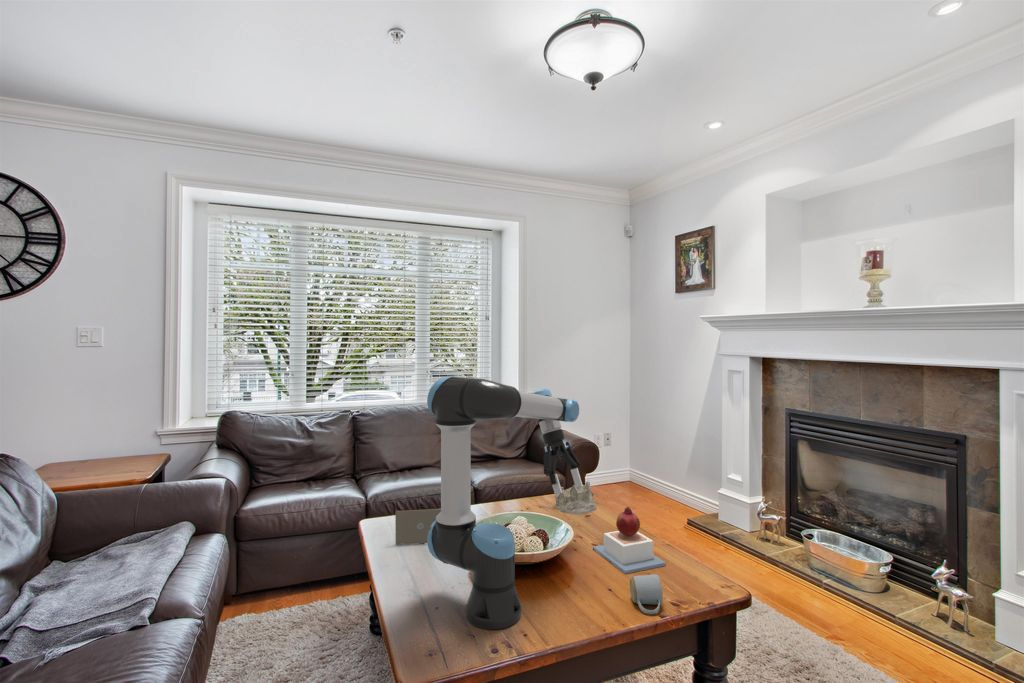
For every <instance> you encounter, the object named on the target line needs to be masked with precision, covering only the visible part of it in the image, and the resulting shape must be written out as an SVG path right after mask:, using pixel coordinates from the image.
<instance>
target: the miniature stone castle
mask: <svg viewBox="0 0 1024 683" xmlns="http://www.w3.org/2000/svg"><path fill="white" fill-rule="evenodd" d="M590 482H591V481H588V480H586V481H585V484H583V486H580V487H575V484H573V485H572V487H569V488H566V489H564V487H563V486H561V490H562V493H559V494H555V493H554V498H555V504H554V508H556V509H557V510H558V511H560V512H562V513H565V514H570V515H585V514H588V513H591V512H594V511H596V510H597V505H596V502H595V501H594V500H595V498H594V495H595V494H594V493H593V490H592V488H591V483H590Z"/></svg>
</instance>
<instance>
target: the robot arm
mask: <svg viewBox="0 0 1024 683" xmlns="http://www.w3.org/2000/svg"><path fill="white" fill-rule="evenodd" d="M426 400H427V401H426V404H427V405H426V406H427V408H428V410H429V412H430V414H432V415H433V416H435V426H437V428H438V429H440V509H441V512H440V513H439V514H438V515H437V516H436V520H435V521H434V522H433V523H432V525H431V527H430V528H431V530H429V532H428V537H427V544H426V545H427V548H428V551H429V553H430V555H431V556H432V557H433V558H434V559H436V560H438V561H440V562H442V563H443V564H447V565H452V566H453V567H455V568H456V567H457V568H460V569H462V570H466V571H468V572H471V574H472V577H471V578H472V586H471V589H470V594H469V596H468V600H467V602H466V605H465V606H466V607H465V608H466V609H465V617H466V619H467V621H468V622H469V623H470V624H471V625H472V626H474V627H477V628H479V629H483V630H502V629H506V628H509V627H511V626H513V625H515V624H516V623H517V622H518V621H519V620H520V619H521V616H522V604H521V601H520V598H519V594H518V591H517V588H516V585H515V584H516V583H515V582H516V581H515V580H516V578H515V577H516V575H515V573H516V572H515V570H516V569H515V566H516V565H515V564H516V563H515V561H516V560H515V559H516V558H515V556H516V554H515V553H516V546H515V537H514V534H513V532H512V531H511V530H510V529H509V528H508V527H507V526H504V524H503V525H502V524H500V523H496V522H493V523H490V522H482V523H478V524H477V523H476V522H477V521H476V519H477V516H476V514H475V513H474V512H473V511H472V510H471V503H472V502H471V500H472V499H471V495H472V494H471V493H472V492H471V489H472V488H471V484H472V483H471V477H472V476H471V474H472V473H471V469H472V468H471V460H472V458H471V456H472V455H471V444H472V443H471V439H472V438H471V437H472V436H471V429H472V428H473V427H474V426H475V425H476V423H477V422H476V421H487V420H488V421H490V420H512V419H515V417H517V418H522V419H537V420H538V424H539V427H540V431H541V433H542V438H543V443H544V444H545V445H546V446H543V447H542V451H543V474H544V475H545V476H546V477H549V480H550V484H551V486H552V490H553V492H554V495H555V494H559V493H562V490H561V487H562V486H561V484H560V480H559V476H558V474H557V473H556V468H557V462H558V458H562V460H564V461H565V463H566V464H567V465H568V467H570V468H571V469H570V472H571V476H572V479H573V483H574V485H575V487H580V486H583V485H584V484H583V482H582V478H581V475H580V471H579V468H580V467H581V462H580V460H579V459H578V457H577V455H576V454H575V452H574V451H573V449H572V447H571V446H570V442H569V441H566V442H564V440H565V435H564V431H563V430H562V429H561V428H562V424H561V422H566V423H568V422H569V423H573V422H575V421H578V420H577V419H579V418H578V417H579V415H580V405H579V403H578V401H577V400H575V399H570V398H561V397H555V396H553V395H552V392H551V390H550V389H548V388H544V389H539V390H536V391H533V392H526V391H519V390H518V389H517V388H516V387H514V386H511V385H506V384H503V383H500V382H495V381H493V380H489V379H485V378H477V377H476V378H475V377H463V376H461V377H460V376H445V377H440V378H438V379H437V380H436V381H434V383H433V385H431V387H430V388H429V390H428V394H427V399H426Z"/></svg>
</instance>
